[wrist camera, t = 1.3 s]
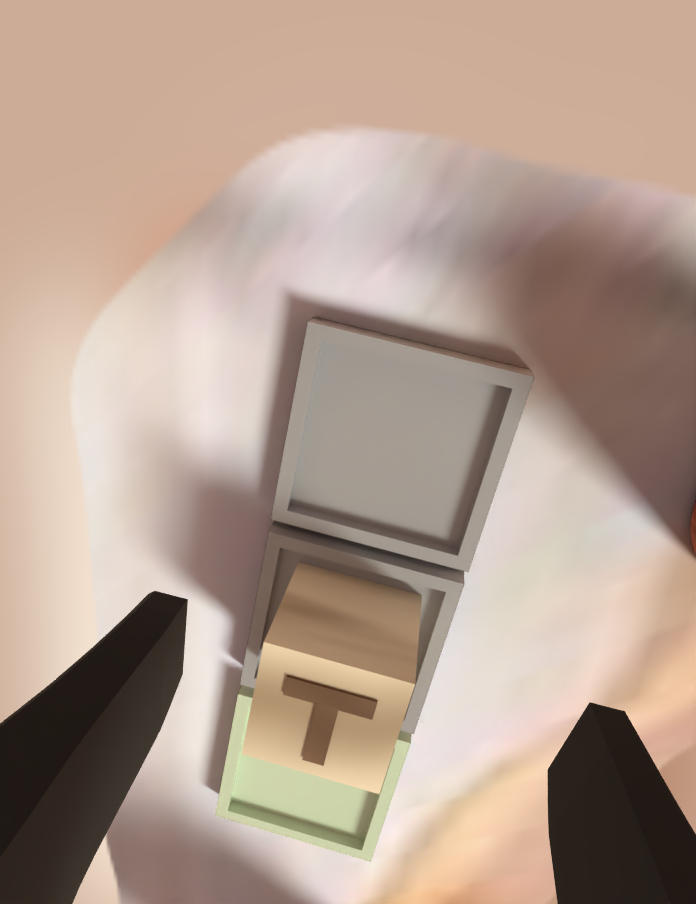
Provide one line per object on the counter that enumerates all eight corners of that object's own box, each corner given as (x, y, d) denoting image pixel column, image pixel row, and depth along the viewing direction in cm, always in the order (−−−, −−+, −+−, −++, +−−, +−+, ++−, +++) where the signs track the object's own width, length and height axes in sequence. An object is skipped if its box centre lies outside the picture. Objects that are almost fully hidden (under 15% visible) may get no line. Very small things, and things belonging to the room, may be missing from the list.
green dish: (373, 842, 28) (370, 861, 27) (222, 797, 28) (215, 815, 28) (411, 726, 25) (410, 743, 25) (244, 678, 26) (238, 693, 25)
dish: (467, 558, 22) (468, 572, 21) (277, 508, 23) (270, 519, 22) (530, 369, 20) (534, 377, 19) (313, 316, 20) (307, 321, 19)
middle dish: (415, 716, 25) (413, 733, 24) (246, 668, 26) (239, 684, 25) (463, 570, 22) (464, 584, 22) (274, 520, 23) (268, 531, 22)
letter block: (391, 694, 24) (378, 798, 20) (277, 662, 25) (240, 758, 20) (421, 595, 23) (414, 686, 18) (298, 561, 23) (263, 643, 19)
